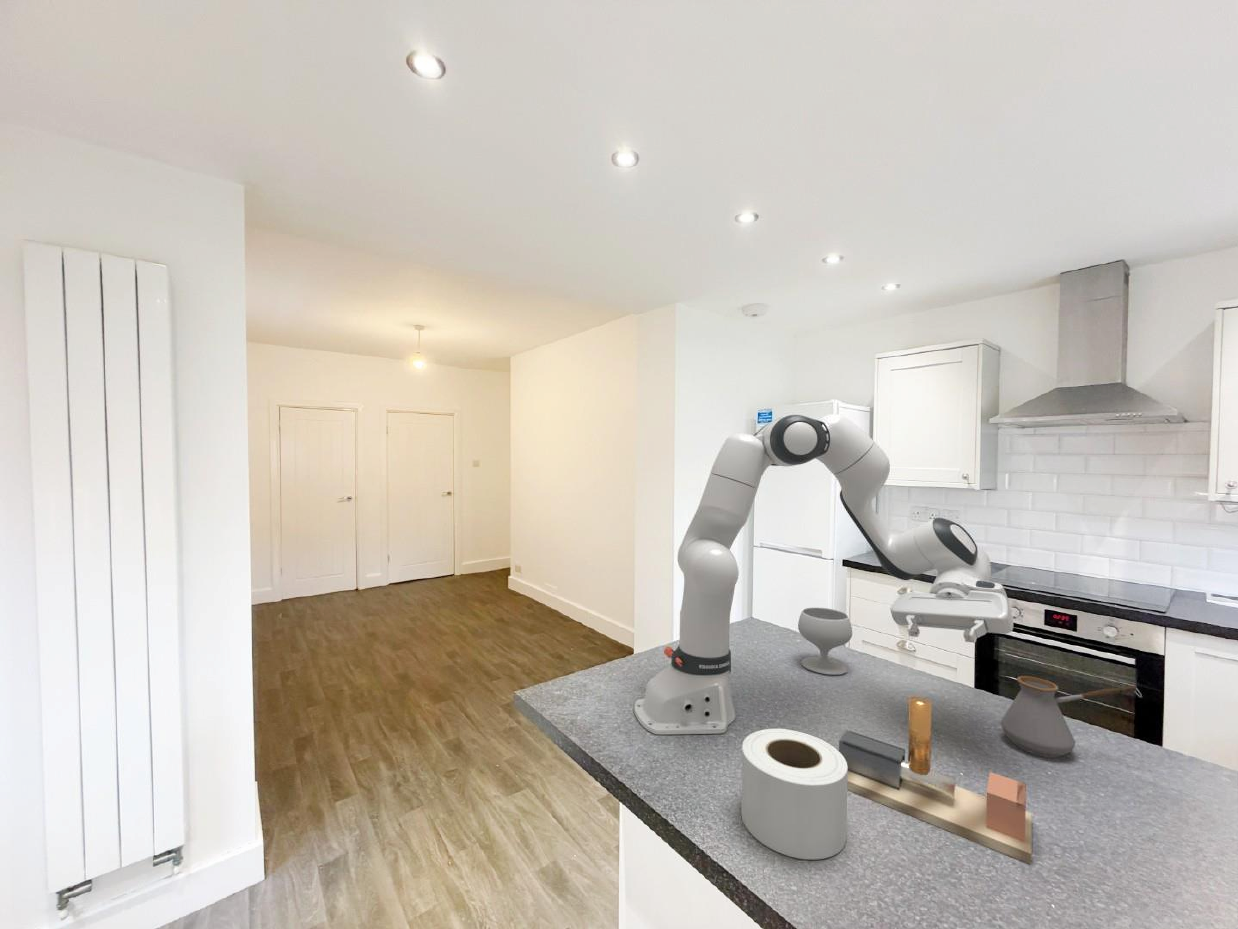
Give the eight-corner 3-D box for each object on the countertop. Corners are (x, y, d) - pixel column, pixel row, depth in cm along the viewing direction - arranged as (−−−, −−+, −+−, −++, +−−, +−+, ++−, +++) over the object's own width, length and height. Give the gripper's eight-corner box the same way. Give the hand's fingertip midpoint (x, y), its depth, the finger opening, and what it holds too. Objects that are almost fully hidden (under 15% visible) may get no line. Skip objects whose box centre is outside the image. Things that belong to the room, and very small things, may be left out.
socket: (986, 827, 74) (986, 792, 74) (989, 805, 79) (989, 772, 80) (1024, 842, 72) (1025, 805, 72) (1025, 818, 77) (1026, 783, 77)
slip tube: (849, 763, 88) (850, 685, 89) (854, 756, 91) (855, 679, 91) (953, 802, 78) (954, 714, 79) (955, 793, 81) (957, 707, 81)
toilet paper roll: (755, 779, 88) (756, 718, 88) (851, 811, 80) (852, 744, 80) (728, 834, 74) (729, 762, 74) (840, 879, 66) (841, 798, 66)
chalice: (788, 658, 144) (789, 606, 144) (834, 657, 146) (834, 606, 146) (812, 678, 130) (813, 621, 130) (862, 677, 132) (863, 620, 132)
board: (830, 782, 87) (830, 774, 87) (848, 755, 95) (848, 747, 95) (1031, 864, 69) (1031, 854, 69) (1031, 822, 78) (1031, 813, 78)
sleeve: (838, 767, 89) (839, 740, 89) (846, 755, 93) (846, 730, 93) (898, 790, 83) (899, 761, 83) (904, 777, 86) (905, 749, 86)
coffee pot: (1010, 754, 97) (1011, 677, 97) (993, 726, 107) (994, 657, 107) (1158, 784, 88) (1159, 699, 88) (1123, 750, 99) (1124, 675, 99)
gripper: (897, 581, 110) (877, 617, 101) (1012, 584, 94) (1000, 626, 85) (905, 606, 111) (886, 643, 102) (1020, 613, 95) (1010, 658, 86)
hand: (939, 636), depth 93 cm, fingers open, 8 cm apart
